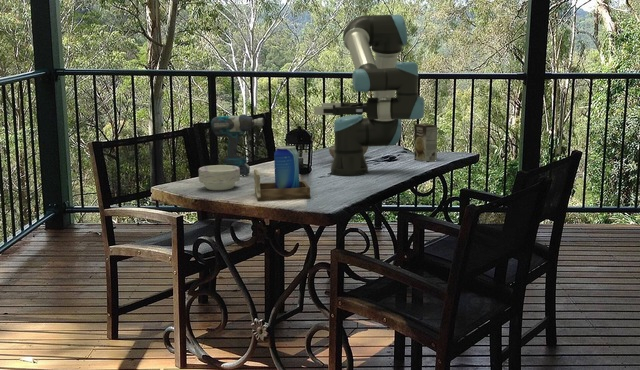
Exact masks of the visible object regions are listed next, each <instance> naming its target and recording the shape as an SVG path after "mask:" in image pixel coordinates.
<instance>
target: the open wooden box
mask: <svg viewBox="0 0 640 370" xmlns="http://www.w3.org/2000/svg"><path fill="white" fill-rule="evenodd" d="M253 178H254V179H253V180H254V181H253V182H254V196H255V199H256V200H257V202H264V201H265V202H266V201H268V202H269V201H281V200H284V201H285V200H299V199H300V200H302V199H311V187H310V186H309V185H308V183H307V182H306V181H305V180H299V188H283V189H275V181H274V182H261V175H260V172H259V171H258V169H257V168H253Z"/></svg>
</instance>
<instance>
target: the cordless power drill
mask: <svg viewBox="0 0 640 370" xmlns="http://www.w3.org/2000/svg"><path fill="white" fill-rule="evenodd" d="M264 125H265V118H264V117H258V118H255V119H254V118H253V117H252V116H249V115H247V114H243V113H242V114H239V115H221V116H214V117H213V118H212V119H211V120H210V127H211V131H212V132H213V134H214V136H216V137H217V138H221V137H227V138H228V140H227V155H226V156H225V157H224V158H223V159H224V160H223V165H231V166H237V167H239V168H240V175H242V176H243V177H245V176H244V175H246V176H247V175H249V174H250V169H251V168H250V165H249V164H248V163H247V158H245V157H244V156H239V155H238V154H237V149H238V145H239V142H241V141H242V135H245V133H246V132H248V131H250V130H252V129H254V127H259V128H262V127H263V126H264Z"/></svg>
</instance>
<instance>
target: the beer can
mask: <svg viewBox="0 0 640 370" xmlns="http://www.w3.org/2000/svg"><path fill="white" fill-rule="evenodd" d="M273 158H274V159H273V160H274V162H273V163H274V165H273V166H274V182H275V189H283V188H299V181H300V165H299V164H300V162H299V152H298V150H297V149H296V146H293V145H281V146H277V147H276V150H275V151H274V154H273Z"/></svg>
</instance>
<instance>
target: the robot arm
mask: <svg viewBox="0 0 640 370" xmlns="http://www.w3.org/2000/svg"><path fill="white" fill-rule="evenodd" d="M406 24H407V23H406V21H405V19H404V16H402V15H401V14H374V15H373V14H371V15H370V14H369V15H368V14H366V15H365V14H364V15H360V16H357V17H356V18H354V19H352V20H351V21H350V22H349V23H348V24H347V25H346V27H345V28H344V30H343V34H342V41H343V44H344V46H345V48H346V49H347V50H348V51H349V53H350V57H351V60H352V63H353V67H354V70H353V71H352V76H351V77H352V79H351V80H352V88H353V90H354V91H355V92H364V93H367V92H373V97H368V98H367V100H366V102H360V101H359V102H346V101H344V102H323V103H322V105H321V106H313V109H314V110H313V112H314V113H313V114H314V116H319V115H320V116H321V115H322V116H323V115H325V116H327V115H328V116H329V115H330V116H334V117H335V116H340V117H338V118H336V119H335V120H334V122H333V123H334V124H333V127H334V128H333V132H334V145H335V156H334V158H332V159H333V160H332V163H331V167H330V174H331V175H335V176H351V177H352V176H361V175H366V174H369V166H368V163H367V160H366V157H365V154H363V147H368V148H369V147H370V148H371V147H390V146H396V145H397V144H398V143H399V141H400V139H401V135H402V120H409V121H410V120H421V119H423V117H425V97H422V96H419V68H418V67H419V66H418V63H417V62H415V61H398V57H399V56H398V55H399V54H401V52H402V51H403V47H405V46H407V44H408V29H407V25H406ZM373 53H374V54H375V57H374V55H373ZM364 113H366V117H364V115H363V114H364Z"/></svg>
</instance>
